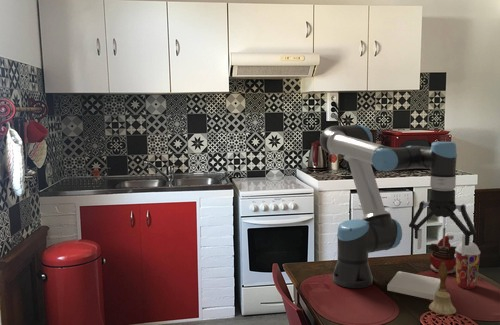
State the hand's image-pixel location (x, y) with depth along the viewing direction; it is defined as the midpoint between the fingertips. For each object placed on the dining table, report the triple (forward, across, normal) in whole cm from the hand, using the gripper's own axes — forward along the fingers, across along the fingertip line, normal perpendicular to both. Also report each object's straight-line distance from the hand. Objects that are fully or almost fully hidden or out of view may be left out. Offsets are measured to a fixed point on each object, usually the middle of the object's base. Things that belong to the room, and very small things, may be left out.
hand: (440, 251), depth 141 cm
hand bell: (+19, +1, -2) cm, 19 cm away
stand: (+19, -10, +11) cm, 24 cm away
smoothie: (+19, +6, +22) cm, 30 cm away
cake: (+19, -4, +34) cm, 39 cm away
